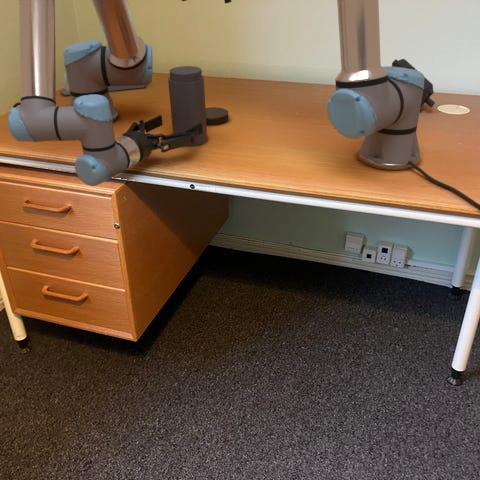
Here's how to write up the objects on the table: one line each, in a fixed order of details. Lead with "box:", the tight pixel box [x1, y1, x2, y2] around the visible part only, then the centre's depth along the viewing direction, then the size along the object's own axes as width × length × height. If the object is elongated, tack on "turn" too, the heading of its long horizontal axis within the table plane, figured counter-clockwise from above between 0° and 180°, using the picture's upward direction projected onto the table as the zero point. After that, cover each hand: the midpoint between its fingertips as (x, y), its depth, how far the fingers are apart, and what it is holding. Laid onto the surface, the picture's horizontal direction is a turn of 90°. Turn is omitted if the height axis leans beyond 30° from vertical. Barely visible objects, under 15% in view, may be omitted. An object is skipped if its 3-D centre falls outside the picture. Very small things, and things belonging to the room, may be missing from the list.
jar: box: [167, 65, 208, 147], centre depth 148 cm, size 10×10×20 cm
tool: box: [390, 58, 436, 108], centre depth 172 cm, size 6×19×15 cm, turn 51°
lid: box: [206, 106, 229, 126], centre depth 167 cm, size 11×11×2 cm
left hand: (180, 123), depth 146 cm, fingers open, 13 cm apart
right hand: (206, 1), depth 149 cm, fingers open, 13 cm apart
